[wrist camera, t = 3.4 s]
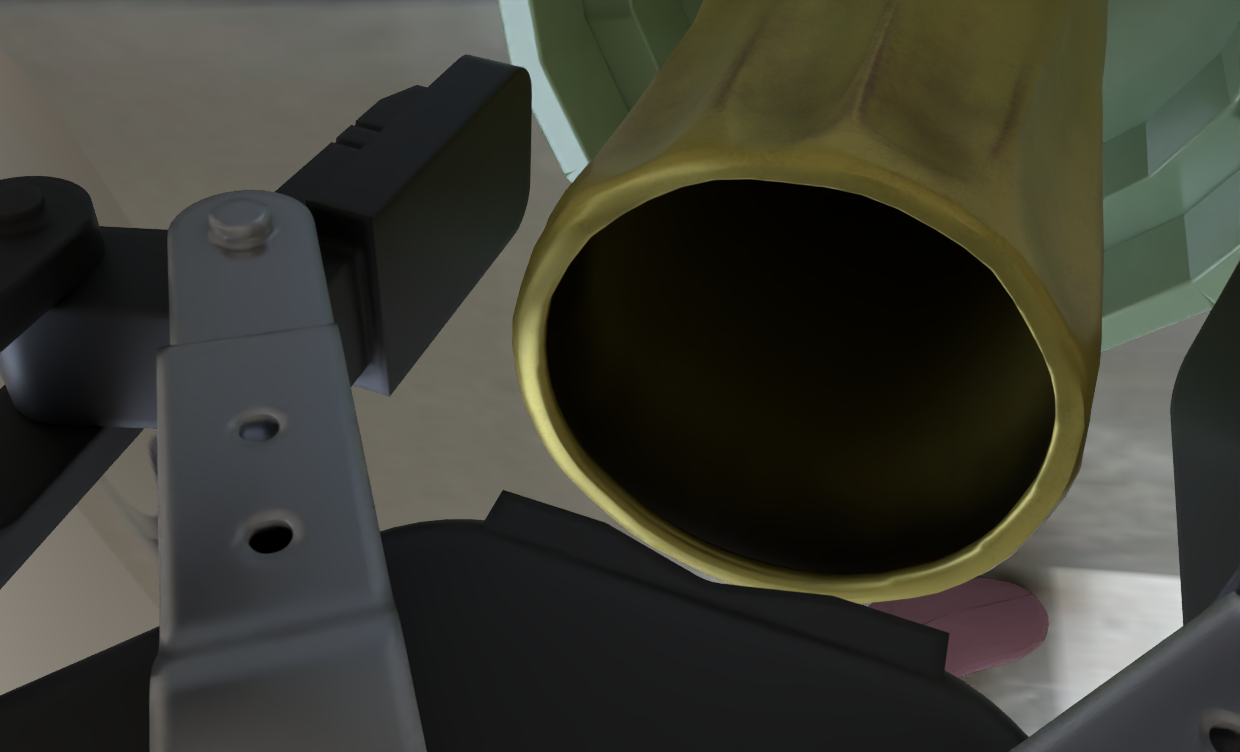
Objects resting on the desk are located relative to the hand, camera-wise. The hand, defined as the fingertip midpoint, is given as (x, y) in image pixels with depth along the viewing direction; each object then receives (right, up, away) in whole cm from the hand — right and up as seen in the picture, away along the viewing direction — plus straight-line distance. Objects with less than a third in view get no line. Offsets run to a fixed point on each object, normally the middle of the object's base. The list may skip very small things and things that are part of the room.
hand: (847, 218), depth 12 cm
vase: (+4, +7, +8) cm, 11 cm away
